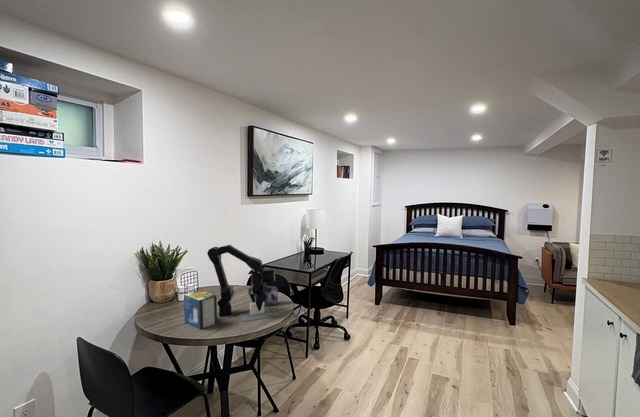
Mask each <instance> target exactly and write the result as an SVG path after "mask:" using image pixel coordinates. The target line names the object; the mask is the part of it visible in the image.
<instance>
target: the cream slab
mask: <svg viewBox="0 0 640 417" xmlns="http://www.w3.org/2000/svg"><path fill="white" fill-rule="evenodd" d="M264 310H265V306H264V302H263V303H262V307H261V310H260V311H258V308H257V305H256V303H253V302H250V303H249V313H250V314H251V315H253V314H259V313H265V311H264Z"/></svg>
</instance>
